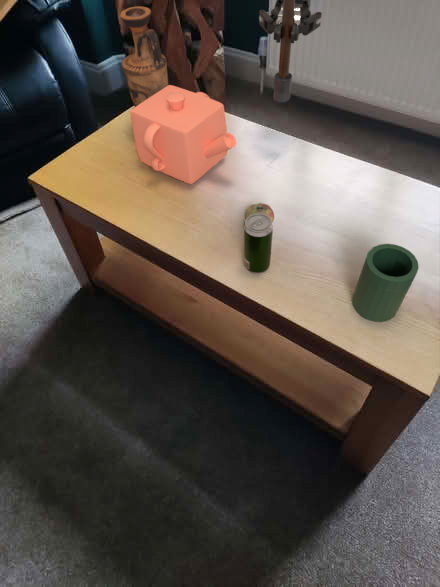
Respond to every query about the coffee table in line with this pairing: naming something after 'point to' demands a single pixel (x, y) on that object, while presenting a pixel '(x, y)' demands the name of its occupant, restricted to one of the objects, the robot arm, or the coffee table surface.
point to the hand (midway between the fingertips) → (285, 37)
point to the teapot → (181, 133)
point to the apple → (259, 211)
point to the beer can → (257, 243)
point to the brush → (284, 55)
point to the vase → (143, 57)
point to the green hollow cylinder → (384, 282)
